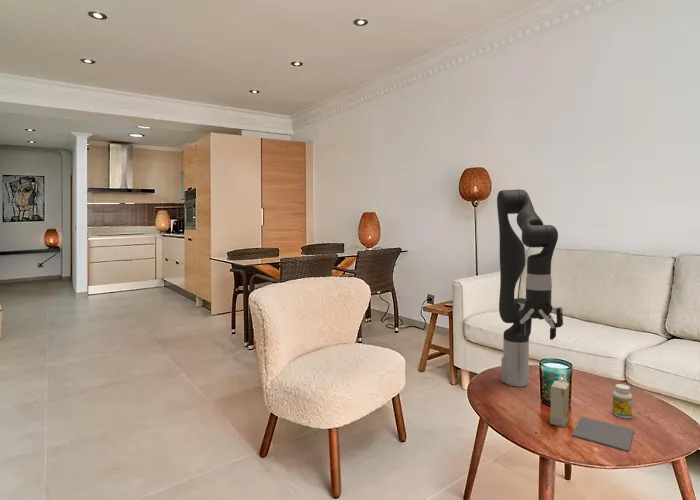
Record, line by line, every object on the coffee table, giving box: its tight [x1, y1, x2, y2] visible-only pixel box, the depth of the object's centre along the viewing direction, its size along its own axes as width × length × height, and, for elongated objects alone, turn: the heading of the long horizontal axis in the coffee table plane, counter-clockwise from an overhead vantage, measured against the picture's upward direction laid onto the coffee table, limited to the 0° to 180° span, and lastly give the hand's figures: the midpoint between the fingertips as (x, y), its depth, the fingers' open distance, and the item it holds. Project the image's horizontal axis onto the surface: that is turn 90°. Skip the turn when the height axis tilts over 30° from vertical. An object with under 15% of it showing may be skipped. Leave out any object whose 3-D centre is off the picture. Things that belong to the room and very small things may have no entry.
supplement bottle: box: [612, 383, 633, 419], centre depth 136 cm, size 5×5×10 cm
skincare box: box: [549, 380, 570, 428], centre depth 132 cm, size 6×4×12 cm
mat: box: [571, 416, 635, 453], centre depth 125 cm, size 14×14×1 cm
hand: (537, 336), depth 135 cm, fingers open, 8 cm apart
